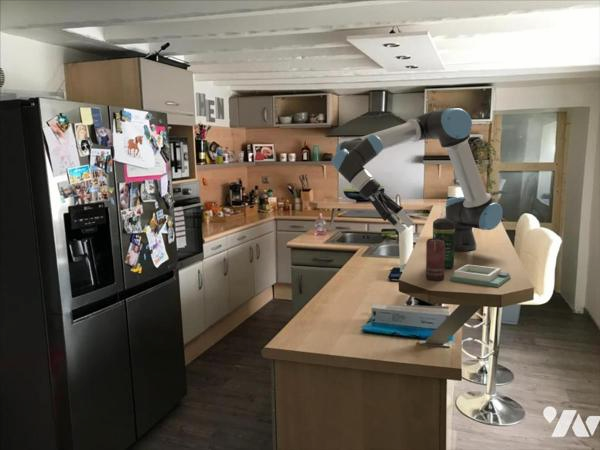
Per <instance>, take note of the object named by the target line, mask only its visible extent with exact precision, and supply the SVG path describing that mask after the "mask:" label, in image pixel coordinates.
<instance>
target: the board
mask: <svg viewBox="0 0 600 450" xmlns="http://www.w3.org/2000/svg"><path fill="white" fill-rule="evenodd" d="M453 271H454V272H453V275H450V277H449V280H450V281H453V282H459V283H465V284H466V283H467V284H473V285H479V286H487V287H493V288H499V287H500V286H501V285H503V284H504V283H506V282H507V281H508V280H510V279H511V274H510V273H509V272H506V271H505V272H504V271H502V268H501V267H500V268H499V267H491V266H485V265H484V266H483V265H475V264H464V265H462V266H461V267H459V268H457V269H456V270H453Z"/></svg>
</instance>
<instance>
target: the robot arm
mask: <svg viewBox="0 0 600 450" xmlns="http://www.w3.org/2000/svg"><path fill="white" fill-rule="evenodd" d="M472 126H473V121H472V118H471V115H470V114H469V113H468V112H467V111H466V110H464V109H462V108H457V107H451V108H445V109H438V110H431V111H428V112H425V113H423V114H420V115H417V116H416V117H415V116H414V117H413V118H409V119H408V120H407V121H406V122H405V123H402V124H399V125H398V124H397V125H395V126H392V127H389V128H386V129H385V128H384V129H383V130H379V131H376V132H373V133H369V134H366V135H363V136H360V137H357V138H354V139H350V140H344V141H341V142H339V143H338V144H337V146H336V148H335V154H334V156H333V157H332V159H331V164H332V166H333V167H334V168H335V170H336V171H337V172H339V174H340V175H341V176H342V177H343V178H344V179H345V180H346V181H347V182H348V183H349V184H350V185H351V189H354V190H355V191H356V192H359V193H358V194H359V195H360V196H361V197H362V198H364V200H368V201H369V202H370V203H371V204H372V206H373V207H374V209H375V210H376V211H377V212H378V214H379V215H380V217H381V218H382V220H383V222H386V221H388V223H390V225H391V226H392V227H393V228H394V229H395V230H396V231H397V232H398V233H399V234H402V233H403V232H404V231H405V230H406V229H407V228H408V229H409V228H410V227H411V226H412V225H413V224H414V223H415V222H414V221H413V219H412V218H410V217H409V215H408V214H407V213H406V212H405V211H404V210H403V206H401V205H400V204H398V203H397V202H396V201H394V200H393V199H392V198H391V196H388V195H387V194H386V193H385V191H383V190H381V191H380V190H379V189H380V188H381V183H380V182H379V181H377V180H376V178H373V177H374V176H373V175H372V174H370V172H369V171H368V170H367V169H366V168H365V167H364V166H366V165H367V164H369V162H371V161H372V160H373V159H374V158H376V157H377V156H378V155H379V154H380V153H381V152H382V151H383V150H387V149H390V148H393V147H396V146H399V145H401V144H405V143H408V142H419V141H423V140H424V141H425V140H438V142H439V144H440V146H441V148H442V149H444V150H446V152H447V153H448V157H449V159H450V162H451V165H452V167H453V170H454V174H455V175H456V179H457V181H458V184H459V187H460V190H461V192H462V194H463V197H452V198H448V199H447V200H446V201H445V218H446V219H448V220H450V221H452V222H454V223H455V240H454V252H467V251H474V250H477V242H476V239H475V235H474V232H473V231H474V230H473V229H478V230H481V231H491V230H494V229H495V228H497V227H498V226H499V225H500V224H501V220H502V219H503V207H502V206H501V204H500V203H497V202H494V201H493V198H492V195H491V193H488V192H486V189H485V186H484V183H483V181H482V178H481V175H480V172H479V169H478V166H477V163H476V161H475V158H474V155H473V153H472V149H471V147H470V144H469V140H470V138H471V135H470V133H471V132H472ZM392 212H393V213H394V214H395V215H396V216H397V217H396V216H395V215H394V214H392ZM400 220H401V221H400Z"/></svg>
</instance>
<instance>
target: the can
mask: <svg viewBox="0 0 600 450" xmlns="http://www.w3.org/2000/svg"><path fill="white" fill-rule="evenodd" d="M425 245H426V249H425V250H426V252H425V254H426V258H425V260H426V261H425V262H426V264H425V278H426V279H427V280H429V281H432V282H438V281H439V282H441V281H444V279H445V269H444V258H445V242H444V240H443V239H433V238H428V239H427V240H426V244H425Z"/></svg>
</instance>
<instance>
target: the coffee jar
mask: <svg viewBox="0 0 600 450" xmlns="http://www.w3.org/2000/svg"><path fill="white" fill-rule="evenodd" d="M432 239H443V240H444V242H445V258H444V270H447V269H453V268H454V266H455V251H454V240H455V223H454V222H452V221H450V220H448V219H446V217H445V218H443V217H442V218H436V219H435V220H433V222H432Z"/></svg>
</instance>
